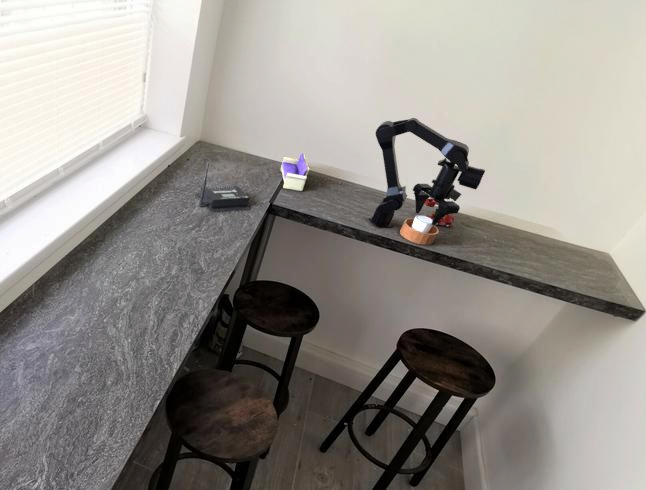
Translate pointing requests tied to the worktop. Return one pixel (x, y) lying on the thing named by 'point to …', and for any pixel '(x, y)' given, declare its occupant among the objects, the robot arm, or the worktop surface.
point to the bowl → (418, 233)
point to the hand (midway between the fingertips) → (424, 218)
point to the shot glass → (422, 223)
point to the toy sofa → (294, 172)
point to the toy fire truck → (444, 221)
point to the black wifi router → (223, 197)
